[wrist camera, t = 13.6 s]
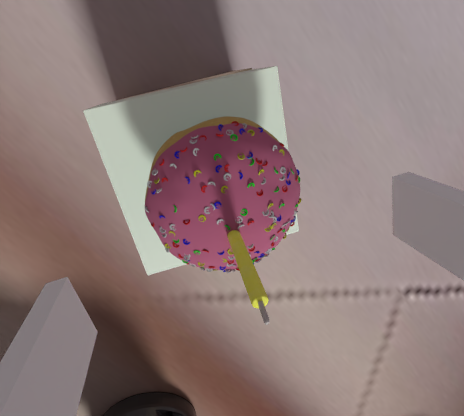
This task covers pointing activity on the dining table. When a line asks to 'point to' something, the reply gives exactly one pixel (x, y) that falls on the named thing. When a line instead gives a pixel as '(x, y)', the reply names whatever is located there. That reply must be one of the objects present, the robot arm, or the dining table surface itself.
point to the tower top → (167, 124)
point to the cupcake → (223, 198)
